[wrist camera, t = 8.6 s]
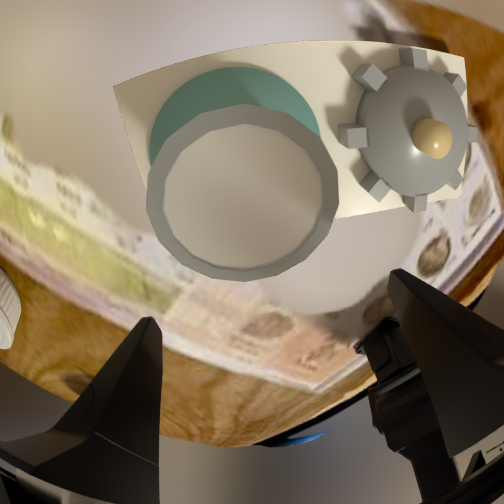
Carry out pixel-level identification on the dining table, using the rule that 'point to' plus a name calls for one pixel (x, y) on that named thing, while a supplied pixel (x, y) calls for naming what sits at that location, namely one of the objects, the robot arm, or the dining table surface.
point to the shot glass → (242, 193)
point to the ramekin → (8, 310)
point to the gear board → (327, 112)
